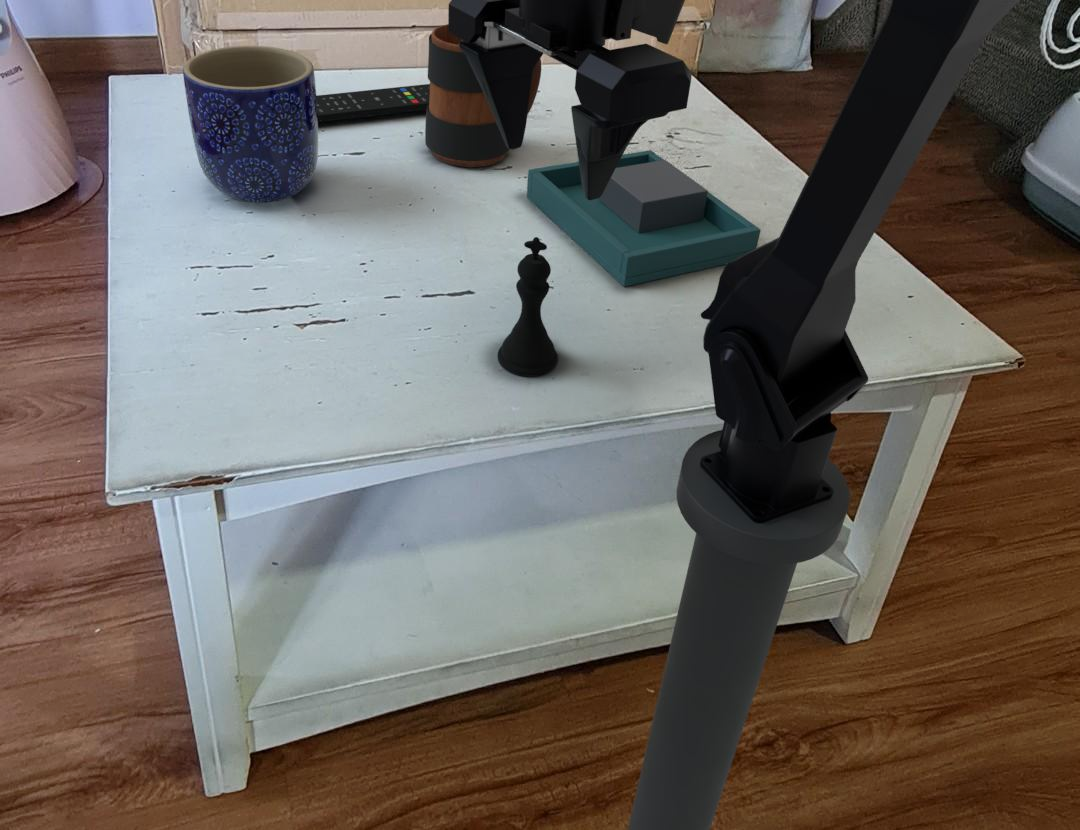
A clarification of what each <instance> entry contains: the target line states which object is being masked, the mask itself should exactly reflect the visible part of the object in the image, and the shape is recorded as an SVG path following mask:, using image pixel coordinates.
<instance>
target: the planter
mask: <svg viewBox="0 0 1080 830" xmlns="http://www.w3.org/2000/svg"><path fill="white" fill-rule="evenodd" d="M182 74H183V86H184V91H185V99H186V105H187V111H188V117H189V123H190V128H191V134H192V140H193V144H194V148H195V149H194V150H195V152H196V156H197V161H198V163H199V166H200V168H201V171H202V173H203V174H204V176H205V178H206V179H207V180H208V182H209V183H210V184H211V185H212V186H213V187H214V188H215V189H216V190H217V191H219V192H220V193H221V194H223V195H224V196H226V197H228V198H231V199H233V200H236V201H241V202H244V203H245V202H246V203H254V204H262V203H263V204H264V203H273V202H278V201H283V200H286V199H289V198H291V197H293V196H295V195H297V194H299V193H300V192H301V191H302V190H304V188H305V187H306V186H307V185H308V184H309V182H310V181H311V179H312V178H313V176H314V174H315V171H316V169H317V165H318V160H319V159H318V158H319V122H318V114H317V98H316V96H317V85H316V77H315V68H314V65H313V63H312V62H311V60H309V58H307V57H306V56H304V55H302V54H300V53H298V52H295V51H293V50H289V49H285V48H280V47H274V46H265V45H235V46H225V47H219V48H215V49H214V48H213V49H210V50H206V51H204V52H200V53H198V54H196V55H194V56H191V58H189V59H188V60H187V61H186V62H185V63H184V65H183V67H182Z"/></svg>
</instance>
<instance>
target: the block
mask: <svg viewBox="0 0 1080 830" xmlns="http://www.w3.org/2000/svg"><path fill="white" fill-rule="evenodd" d="M708 192H709V190H708V189H707V188H705V187H704V186H702V185H701V184H699V182H697V181H695V180H694V179H693V178H692V177H690V176H689V175H687V174H686V173H684V172H683V171H681V170H680V169H679V168H678V167H676V166H674V165H673V164H672V163H671V162H669V161H667V160H666V159H663V160H662V161H656V162H650V163H643V164H637V165H631V166H625V167H619V168H616V169H615V171H614V172H613V174H612V176H611V178H610V180H609V182H608V184H607V186H606V188H605V190H604V192H603V194H602V196H601V197H600V198H599V200H600V201H601V202H602V203H603V204H604V205H605V206H607V207H608V208H609V209H610V210H611V211H613V212H614V213H615V214H616V215H617V216H619V217H620V218H621V219H622V220H623V221H625V222H626V223H627V224H628V225H629V226H631V227H632V228H633V229H634V230H635V231H637V232H638V233H642V232H647V231H652V230H657V229H662V228H668V227H673V226H678V225H683V224H688V223H693V222H698V221H702V220H703V216H704V211H705V205H706V200H707V195H708Z"/></svg>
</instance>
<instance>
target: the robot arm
mask: <svg viewBox="0 0 1080 830" xmlns="http://www.w3.org/2000/svg"><path fill="white" fill-rule="evenodd" d="M685 1H686V0H450V1H449V3H448V15H447V16H448V18H447V19H448V21H447V22H448V23H447V24H448V32H450V33H452V34H453V35H455V36H457V37H459V38H460V39H462V40H460V41H459V48H460V50H461V51H463V52H464V53H465V55H466V57H467V59H468V61H469V63H470V65H471V67H472V69H473V71H474V74H475V76H476V78H477V80H478V82H479V84H480V86H481V88H482V90H483V93H484V95H485V97H486V99H487V102H488V104H489V106H490V109H491V111H492V113H493V116H494V118H495V120H496V123H497V125H498V127H499V130H500V132H501V135H502V137H503V139H504V142H505V144H506V146H507V147H508V148H509V150H515V149H519V148H521V147H522V146H523V143H524V138H525V133H526V128H527V122H528V121H527V120H528V115H529V113H528V106H529V98H530V90H531V82H532V74H533V70H534V67H535V66H536V64H537V63H538V61H539V60H540V59H541V58H542V57H543V55H546V56H548V57H550V58H552V59H554V60H555V61H557V62H559V63H561V64H562V65H565V66H567V67H568V68H571V69H572V70H575V79H574V80H575V83H574V91H575V93H576V96H577V98H578V101H579V103H580V104H576V105H572V106H571V107H570V109H571V118H572V124H573V125H572V126H573V131H574V137H575V144H576V145H575V146H576V153H577V162H579V168H580V175H581V181H582V186H583V190H584V195H585V198H586V199H588V200H594V199H598V198H600V197H601V196H602V194H603V192H604V190H605V188H606V186H607V184H608V182H609V180H610V178H611V176H612V174H613V172H614V171H615V169H616V167H617V165H618V163H619V161H620V159H621V157H622V155H623V154H625V151H626V149H627V148H628V146H629V144H630V142H631V141H632V140H633V138H634V137H635V135H636V133H637V132H638V131H639V129H641V127H642V126H644V124H646V123H647V122H648V121H650V120H655V119H659V118H663V117H665V116H668V114H669V113H672V112H676V111H680V110H685V109H687V108H688V107H687V106H688V102H689V96H690V95H689V94H690V90H691V84H692V76H693V73H692V72H691V70H690V68H689V67H688V65H687V64H686V63H685V61H684V59H681V58H679V57H677V56H674V55H672V54H670V53H668V52H666V51H664V50H661V49H659V48H657V47H656V46H652V45H650V44H648V43H642V44H635V45H630V46H625V47H618V48H613V49H608V48H607V47H605V45H606V40H614V41H617V42H618V41H624V40H630V39H631V38H632V30H634V31H636V32H639V33H642V34H645V35H648V36H651V37H653V38H656V41H657V42H659V43H661V44H664V45H669V42H670V40H671V37H672V34H673V32H674V29H675V27H676V24H677V22H678V19H679V17H680V15H681V13H682V9H683V6H684V4H685V3H686V2H685ZM1020 1H1021V0H890V3H889V6H888V11H887V12H886V15H885V17H884V20H883V22H882V24H881V26H880V28H879V30H878V32H877V34H876V36H875V38H874V40H873V43H872V45H871V47H870V48H869V50H868V52H867V55H866V57H865V59H864V61H863V63H862V65H861V67H860V69H859V72H858V74H857V76H856V78H855V80H854V81H853V84H852V86H851V88H850V90H849V92H848V94H847V96H846V98H845V100H844V103H843V104H842V106H841V108H840V111H839V113H838V115H837V118H835V121H834V123H833V125H832V127H831V129H830V131H829V133H828V135H827V138H826V139H825V142H824V143H823V145H822V148H821V150H820V152H819V154H818V156H817V158H816V160H815V162H814V165H813V167H812V168H811V170H810V173H809V175H808V177H807V179H806V180H805V183H804V185H803V187H802V189H801V191H800V193H799V195H798V198H797V200H796V201H795V204H794V206H793V208H792V210H791V212H790V214H789V216H788V218H787V220H786V223H784V225H783V228H782V230H781V233H780V235H779V237H777V238H775V239H773V240H771V241H768V242H767V243H765V244H763V245H760V246H759V247H757V249H755V250H753V251H751V252H749V253H747V254H745V255H743V256H741V257H739V258H737V259H735V260H733V261H731V262H729V263H728V264H725V266H724V268H723V270H722V272H721V274H720V276H719V279H718V284H717V287H716V288H717V289H716V291H715V295H714V298H713V300H711V303H710V304H709V306H708V307H707V308H706V309H705V310H703V311H702V312H700V317H701V319H703V320H708V323H707V324H706V326H705V328H704V329H705V330H704V333H703V336H702V337H703V339H702V341H703V345H702V346H703V347H702V348H703V350H704V351H705V352H706V353H707V354H708V360H709V369H710V376H711V377H710V379H711V386H712V392H713V402H714V409H715V411H714V412H715V415H716V417H717V418H718V419H720V420H721V421H723V424H722V428H721V430H722V433H721V437H720V442H719V448H720V449H721V450H720V451H719V452H716V453H713V454H710V455H706V456H703V457H702V458H701V461H700V466H701V468H702V469H703V470H704V471H705V472H706V473H707V474H708V475H709V476H710V477H711V478H712V479H713V480H714V481H715V482H716V483H717V484H718V485H719V487H720V488H721V489H722V490H723V491H724V492H725V493H726V494H727V495H728V496H729V497H730V498H731V499H732V500H733V501H734V502H735V503H736V504H737V505H738V506H739V508H740V509H741V510H742V511H743V512H744V513H745V514H746V515H747V516H748V517H749V518H750V519H751V520H752V521H753V522H755V523H764V522H767V521H770V520H772V519H775V518H778V517H781V516H783V515H786V514H789V513H792V512H795V511H797V510H800V509H803V508H806V507H808V506H811V505H814V504H817V503H819V502H822V501H825V500H828V499H830V498H831V497H832V495H833V492H834V490H833V488H832V487H831V486H830V485H829V484H828V483H826V482H825V481H824V480H823V479H822V475H823V472H824V469H825V466H826V463H827V460H828V458H829V456H830V454H831V450H832V447H833V444H834V441H835V438H836V435H837V431H838V427H837V426H836V425H835V424H833V422H832V412H833V411H834V410H836V409H837V408H839V407H840V406H841V405H843V404H844V403H846V402H850V401H851V400H852V399H853V398H854V397H855V396H856V395H857V394H859V392H860V391H861V390H862V389H863V388H864V386H866V385H867V383H869V376H868V374H867V372H866V369H865V367H864V365H863V364H862V362H861V359H860V357H859V355H858V353H857V351H856V349H855V347H854V345H853V343H852V341H851V339H850V337H849V335H848V333H847V331H846V329H847V326H848V324H849V323H848V322H849V321H850V318H851V314H852V312H853V309H854V307H855V303H856V270H857V267H858V263H859V261H860V260H861V258H862V255H863V253H864V252H865V250H866V248H867V246H868V245H869V243H870V242H871V239H872V238H873V236H874V234H875V232H876V230H877V229H878V227H879V225H880V223H881V222H882V220H883V218H884V217H885V215H886V213H887V211H888V209H889V208H890V206H891V204H892V203H893V201H894V199H895V197H896V195H897V193H898V192H899V190H900V188H901V186H902V185H903V183H904V181H905V180H906V177H907V176H908V174H909V173H910V171H911V169H912V167H913V165H914V164H915V162H916V161H917V158H918V156H919V155H920V153H921V151H922V149H923V147H924V146H925V144H926V143H927V141H928V139H929V137H930V136H931V134H932V132H933V130H934V128H935V127H936V125H937V123H938V121H939V119H940V118H941V117H942V115H943V113H944V111H945V109H946V107H947V105H948V103H949V102H950V100H951V98H952V96H953V95H954V93H955V92H956V90H957V88H958V86H959V84H960V82H961V81H962V79H963V77H964V75H965V73H966V72H967V70H968V68H969V67H970V65H971V63H972V61H973V59H974V58H975V56H976V54H977V52H978V51H979V49H980V47H981V45H982V44H983V42H984V41H985V39H986V38H987V36H988V34H989V33H990V32H991V31H992V30H993V28H994V27H995V26H996V25H997V24H998V23H999V22H1000V21H1001V20H1002V19H1003V18H1004V17H1005V16H1006V15H1007V14H1008V13H1009V12H1010V11H1011V10H1012V9H1013V8H1014V7H1015V6H1016V5H1017V4H1018V3H1019V2H1020ZM527 114H528V115H527ZM757 515H759V516H757Z"/></svg>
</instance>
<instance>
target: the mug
mask: <svg viewBox="0 0 1080 830" xmlns="http://www.w3.org/2000/svg"><path fill="white" fill-rule="evenodd" d="M460 40H462V39H460V38H459V37H457V36H455V35H453V34H452V33H450V32H448V23H447V24H442V25H439V26H437V27H436V28H434V29H433V30H432V32H431V33H430V35H429V36H428V59H427V79H428V81H429V84H430V99H429V103H428V105H427V110H425V111H426V113H425V125H424V127H425V131H424V133H425V134H424V140H425V141H424V142H425V146H426V147H427V149H428V150H429V152H430V154H431V155H432V156H433V157H434V158H435V159H436V160H437V161H440V162H442V163H444V164H446V165H447V164H448V165H451V166H455V167H462V168H481V167H487V166H492V165H495V164H496V163H499V162H500V161H502V160H503V159H504V157H505V156H506V155H507V153H508V152H509V151H510V149H509V148H508V147H507V146H506V144H505V142H504V139H503V137H502V135H501V132H500V130H499V127H498V125H497V123H496V120H495V118H494V116H493V113H492V111H491V109H490V106H489V104H488V102H487V99H486V97H485V95H484V93H483V90H482V88H481V86H480V84H479V82H478V80H477V78H476V76H475V74H474V71H473V69H472V67H471V65H470V63H469V61H468V59H467V57H466V55H465V53H464V52H463V51H461V50H460V48H459V41H460ZM541 78H542V59H541V58H540V60H539V61H538V63H537V64H536V66H535V67H534V70H533V74H532V82H531V90H530V98H529V106H528V114H527V116H528V115H529V113H530V112H531V110H532V107H533V105H534V102H535V100H536V97H537V94H538V91H539V90H538V89H539V86H540V83H541Z"/></svg>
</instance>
